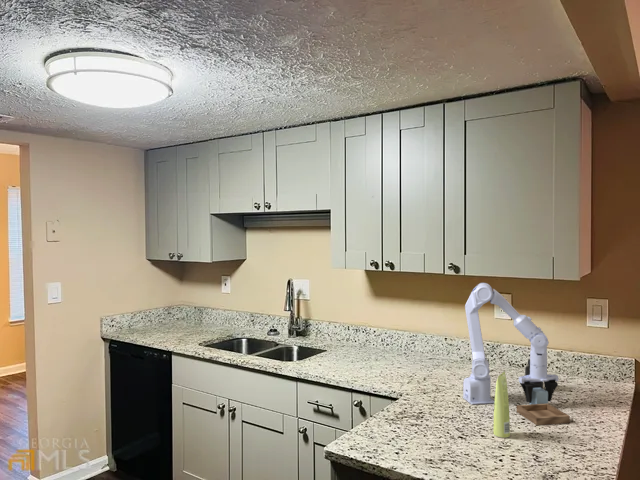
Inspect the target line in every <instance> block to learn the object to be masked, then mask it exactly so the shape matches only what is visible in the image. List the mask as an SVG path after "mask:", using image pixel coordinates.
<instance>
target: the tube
mask: <svg viewBox="0 0 640 480" xmlns="http://www.w3.org/2000/svg"><path fill="white" fill-rule="evenodd" d="M509 402H510V401H509V391H508V381H507V375H506V371H505V370H503V371H502V372H501V373H500V374H498V375H497V379H496V382H495V392H494V403H493V435H494V436H495V437H497V438H502V439H505V438H509V437H511V423H510V422H511V420H510V418H511V417H510V403H509Z"/></svg>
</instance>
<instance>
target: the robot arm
mask: <svg viewBox="0 0 640 480" xmlns="http://www.w3.org/2000/svg"><path fill="white" fill-rule="evenodd" d="M489 302H490V304H491V305H496V306H498V307H499V308H500V309H501V310H502V311H503V312H504V313H506V315H508V317H509V318H511V319H512V320H513V327H514V328H515V329H516V330H518V332H520V334H521V335H522V336H523V337H524V338H526V339H528V340H529V342H530V351H529V359H530V375H526V376H525V375H521V376H518V382H519V384H520V387H521V389H522V390H523V393H524V395H525V399H526V402H527V403H531V402H532V390H533V387H534V386H533V385H531V383H530V382H543V386H544V390H546V391H548V403H549V402H551V401H552V398H553V395H554V392H555V390H556V389H557V388H558V386H559V385H558V382H559V376H558V375H557V374H548V351H547V350H548V346H549V343H550V342H549V340H548V339H549V338H548V337H547V335H546V334H545V333H544V331H543V330H542V328H541V327H540V326H537V325H536V324H535V323H534V322H533V321H532V320H533V319H532V317H530V316H527V315H526V314H520V313H519V312H518V311H517V310H516V309H515V307H513V306H512V304H511V303H509V301H508V300H507V299H506V298H505V297H504V296H503V295H502V294H501V293H500V292H498V291H497V290H496V289H495V288H492V286H491V285H490V284H489V283H487V282H480V283H478V284H476V286H475V287H474V288H473V289H472V291H471V292H470V294H469V297H468V299H467V301H466V303H465V305H464V309H465V316H466V323H467V328H468V335H469V341H470V348H471V354H472V362H471V373H470V375H469V376H468V377H465V378H463V386H462V387H463V389H462V391H463V392H462V393H463V395H462V398H463V399H464V400H465V401H467V402H468V404H470V405H482V404H484V405H485V404H486V405H487V404H494V401H495V399H493V398H491V394H492V393H491V391H492V390H491V386H492V385H491V383H492V382H491V380H492V379H491V375H490V363H489V360H488V359H487V357H486V354H485V348H484V347H485V346H484V343H483V341H484V340H483V334H482V329H481V322H480V316H479V310H480V309H481V307H483V305H484V304H486V303H489Z"/></svg>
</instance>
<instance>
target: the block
mask: <svg viewBox="0 0 640 480" xmlns="http://www.w3.org/2000/svg"><path fill="white" fill-rule="evenodd" d="M528 403H529V402H528ZM546 403H548V404H549V401H548V391H546V390H545V388H543V389H542V388H533V390H532V402H531V403H529V404H528V405H531V404H546Z"/></svg>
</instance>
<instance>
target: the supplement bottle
mask: <svg viewBox="0 0 640 480" xmlns="http://www.w3.org/2000/svg"><path fill="white" fill-rule="evenodd" d="M526 375H530V358H528V359H527V365H526V366H525V368H524V376H526ZM530 383H531V385H533V386H534V387H533V388H542V389H544V382H530Z"/></svg>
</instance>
